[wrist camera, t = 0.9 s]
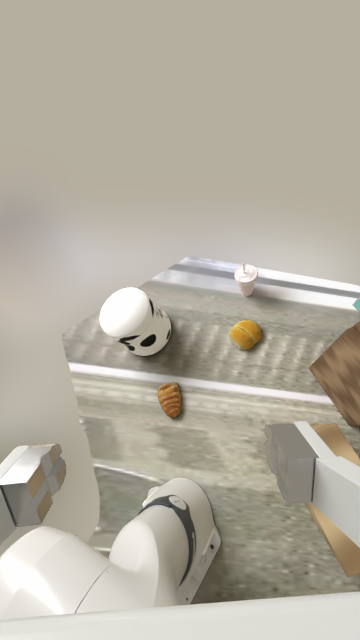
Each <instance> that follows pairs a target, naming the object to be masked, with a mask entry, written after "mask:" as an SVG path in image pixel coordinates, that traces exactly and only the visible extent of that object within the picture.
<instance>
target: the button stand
mask: <svg viewBox="0 0 360 640" xmlns="http://www.w3.org/2000/svg"><path fill="white" fill-rule="evenodd" d="M309 369H310V370H311V372H312V373H313V375H314V376H315V378H316V379H317V380H318V382H319V383H320V385H321V386H322V388H323V389H324V390H325V392H326V393H327V395H328V396H329V398H330V399H331V400H332V402H333V403H334V405H335V406H336V408H337V409H338V410H339V412H340V413H341V415H342V416H343V418H344V419H345V420H346V422H347V423H348V425H360V322H358V323H356V324H355V325H354V326H353V327H351V328H349V329H347V330H346V331H345V332H344V333H343V334H342V335H341V336H340V337H339V338H338V339H337V340H336V341H335V342H334V343H333V344H332V345H331V346H330V347H329V348H328V349H327V350H326V351H325V352H324V353H323V354H322V355H321V356H320V357H319V358H318V359H317V360H316V361H315V362H314V363H313V364H312V365H311V366H310V367H309Z"/></svg>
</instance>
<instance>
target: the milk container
mask: <svg viewBox="0 0 360 640" xmlns="http://www.w3.org/2000/svg"><path fill="white" fill-rule="evenodd" d="M100 325H101V327H102V329H103V331H104V332H105V333H107V334H108V335H109V336H111V337H112V338H113V339H115V340H116V341H118V342H120V343H121V344H122V345H123V346H124V347H125V349H127V350H128V351H129V352H131V353H133V354H136V355H141V356H148V355H152V354H154V353H156V352H158V351H160V350H161V349H162V348H163V347H164V346H165V345H166V343H167V341H168V340H169V337H170V334H171V323H170V320H169V318H168V316H167V314H166V313H165V312H164V310H162V309H161V308H160V307H158V306H156V305H155V304H154V303H153V302H152V300H151V299H150V298H149V297H148V296H147V295H146V294H145V293H144V292H143V291H141V290H139V289H137V288H129V287H128V288H125V289H121V290H119V291H117V292H116V293H114V294H112V296H110V297H109V298H108V299H107V301H106V302H105V304H104V305H103V307H102V310H101V313H100Z"/></svg>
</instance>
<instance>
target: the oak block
mask: <svg viewBox="0 0 360 640" xmlns="http://www.w3.org/2000/svg"><path fill="white" fill-rule="evenodd" d="M310 426H311V427H312V429H313V430H314V431H315V432H316V433H317V434H318V436H319V437H320V438H321V439H322V440H323V441H324V443H325V444H326V445H327V446H328V447H329V448H330V450H331V451H332V452H333V453H334V454H335V455H336V457H339V456H341V457H343V458H345V459H346V460H348V461H350V462H352V463H354V464H355V465H357V466H359V467H360V459H359V457H358V456H357V454H356V453H355V451H354V450H353V448H352V447H351V445H350V444H349V442H348V441H347V439H346V438H345V436H344V435H343V433H342V432H341V431H340V429H339V428H338V426H337V425H336V424H311V425H310ZM306 505H307V507H308V509H309V511H310V513H311V515H312V517H313V519H314V521H315V523H316V525H317V527H318V529H319V530H320V532H321V534H322V535H323V537H324V539H325V540H326V542H327V544H328V545H329V547H330V549H331V550H332V552H333V554H334V555H335V557H336V559H337V560H338V562H339V564H340V565H341V567H342V569H343V570H344V572H345V574H346V575H347V577H349V576H352V575H355V574H358V573H360V548H359V547H358V546H357V545H356V544H355V543H354V542H353V541H352V540H351V539H350V538H349V537H347V536H346V535H345V534H344V533H343V532H342V531H341V530H340V529H339V528H338V527H337V526H336V525H334V524H333V523H332V522H331V521H330V520H329V519H328V518H327V517H326V516H325V515H324V514H323V513H321V512H320V511H319V510H318V509H317V508H316V507H315V506H314V505H313V504H312V503H306Z"/></svg>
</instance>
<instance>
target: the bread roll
mask: <svg viewBox="0 0 360 640" xmlns="http://www.w3.org/2000/svg"><path fill="white" fill-rule="evenodd" d="M261 336H262V334H261V329H260V327H259V326H258V325H257V324H256V323H255V322H253V321H250V320H244V321H240V322H238V323H236V324H235V325H234V326H233V327H232V328H231V330H230V332H229V338H230V341H231V342H232V343H233V344H234V345H235V346H236V347H237V348H238V349H249V348H251V347H253V346H254V344H255V343H256V342H258V341H259V340H260V339H261Z"/></svg>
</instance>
